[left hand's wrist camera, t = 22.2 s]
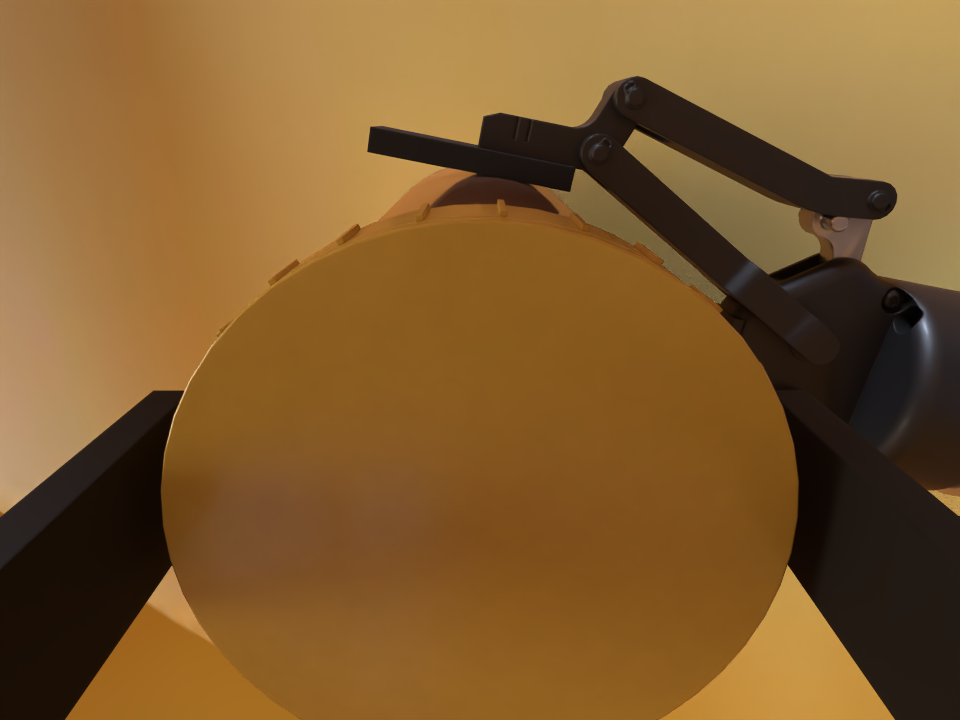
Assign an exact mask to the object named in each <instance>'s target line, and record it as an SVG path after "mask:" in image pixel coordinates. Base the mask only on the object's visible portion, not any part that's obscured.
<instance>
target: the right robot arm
mask: <svg viewBox="0 0 960 720" xmlns="http://www.w3.org/2000/svg"><path fill="white" fill-rule="evenodd" d="M634 129H635V130H637V131H639V132H641V133H643V134H645V135H647V136H649V137H651V138H653V139H655V140H657V141H659V142H661V143H663V144H665V145H666V146H668V147H670V148H672V149H674V150H676V151H678V152H680V153H682V154H684V155H686V156H688V157H690V158H692V159H694V160H696V161H698V162H700V163H702V164H703V165H705V166H707V167H709V168H711V169H713V170H715V171H717V172H719V173H721V174H723V175H725V176H727V177H729V178H731V179H733V180H735V181H737V182H739V183H740V184H742V185H744V186H746V187H748V188H750V189H752V190H754V191H756V192H758V193H760V194H762V195H764V196H766V197H768V198H770V199H772V200H775V201H777V202H780V203H783V204H787V205H790V206H794V207H797V208H801V209H800V211H799V223H800V226H801V228H802V229H803V230H804V231H806V232H808V233H811V234H813V235H815V236H816V237H817V238H818V240H819V241H820V245H821V250H820V253H818V254H815V255H812V256H810V257H808V258H805V259H803V260H801V261H798V262H796V263H794V264H792V265H789V266H787V267H785V268H782V269H780V270H778V271H775V272H773V273H771V274H766V273H765V272H764V271H763V270H762V269H760V268H759V267H758V266H756V265H755V264H754V263H752V262H751V261H750V260H748V259H747V258H746V257H745V256H744V255H743V254H742V253H740V252H739V251H738V250H737V249H736V248H735V247H734V246H733V245H732V244H730V243H729V242H728V241H727V240H726V239H725V238H724V237H723V236H722V235H720V234H719V233H718V232H717V231H716V230H715V229H714V228H713V227H711V226H710V225H709V224H708V223H707V222H706V221H705V220H704V219H703V218H701V217H700V216H699V215H698V214H697V213H696V212H695V211H694V210H693V209H691V208H690V207H689V206H688V205H687V204H686V203H685V202H684V201H682V200H681V199H680V198H679V197H678V196H677V195H676V194H675V193H674V192H672V191H671V190H670V189H669V188H668V187H667V186H666V185H665V184H664V183H662V182H661V181H660V180H659V179H658V178H657V177H656V176H655V175H653V174H652V173H651V172H650V171H649V170H648V169H647V168H646V167H645V166H643V165H642V164H641V163H640V162H639V161H638V160H637V159H636V158H635V157H633V156H632V155H631V154H630V153H629V152H628V151H627V150H626V149H624V148H623V146H624V144H625V143H626V141H627V140H628V138H629V137H630V135H631V133H632V132H633V130H634ZM367 152H370V153H375V154H380V155H386V156H391V157H396V158H401V159H406V160H411V161H416V162H421V163H426V164H431V165H436V166H441V167H446V168H451V169H456V170H462V171H467V172H472V173H477V174H482V175H487V176H492V177H497V178H502V179H507V180H512V181H517V182H522V183H527V184H532V185H537V186H543V187H548V188H553V189H558V190H563V191H568V192H570V190H571V185H572V181H573V177H574V172H575V168H576V169H581V170H583V171H585V172H586V173H587V174H588V175H589V176H590V177H591V178H593V179H594V180H595V181H596V182H597V183H598V184H600V185H601V186H602V187H603V188H604V189H605V190H606V191H608V192H609V193H610V194H611V195H612V196H613V197H614V198H616V199H617V200H618V201H619V202H620V203H621V204H623V205H624V206H625V207H626V208H627V209H628V210H629V211H631V212H632V213H633V214H634V215H635V216H636V217H637V218H639V219H640V220H641V221H642V222H643V223H644V224H645V225H647V226H648V227H649V228H650V229H651V230H652V231H654V232H655V233H656V234H657V235H658V236H659V237H660V238H662V239H663V240H664V241H665V242H666V243H667V244H668V245H670V246H671V247H672V248H673V249H674V250H675V251H677V252H678V253H679V254H680V255H681V256H682V257H683V258H685V259H686V260H687V261H688V262H689V263H690V264H691V265H693V266H694V267H695V268H696V269H697V270H698V271H699V272H700V273H701V274H702V275H703V276H704V277H706V278H707V279H708V280H709V281H710V282H711V283H712V284H714V285H715V286H716V287H717V288H718V289H719V290H720V291H722V292H723V293H724V294H725V295H726V296H727V297H726V298H725V299H724V300H723V301H722V303H721V304H717V303H716V304H717V305H719V306H720V307H721V308H722V309H723V311H722V312H720V314H721V315H722V316H723V317H724V318H725V319H726V320H727V321H728V323H729V324H730V325H731V326H732V327H733V328H734V329H735V330H736V331H737V332H738V333H739V334H740V335H741V336H742V337H743V339H744V340H745V342H746V343H747V345H748V346H749V348H750V349H751V351H752V352H753V353H754V355H755V356H756V358H757V359H758V361H759V362H760V363H762V365H763V367H764V369H765V371H766V373H767V375H768V377H769V379H770V381H771V383H772V385H773V387H774V389H775V391H808V392H809V393H810V394H811V395H812V396H814V397H815V398H816V399H817V400H818V401H820V402H821V403H822V404H823V405H824V406H826V407H827V408H828V409H829V410H831V411H832V412H833V413H834V414H835V415H837V416H838V417H839V418H840V419H841V420H843V421H844V422H845V423H846V424H847V425H849V426H850V427H851V428H852V429H854V430H855V431H856V432H857V433H858V434H860V435H861V436H862V437H863V438H864V439H866V440H867V441H868V442H869V443H870V444H872V445H873V446H874V447H875V448H877V449H878V450H879V451H880V452H881V453H883V454H884V455H885V456H886V457H887V458H889V459H890V460H891V461H892V462H893V463H895V464H896V465H897V466H898V467H900V468H901V469H902V470H903V471H904V472H906V473H907V474H908V475H909V476H910V477H912V478H913V479H914V480H915V481H916V482H918V483H919V484H920V485H921V486H923V487H924V488H925V489H926V490H937V491H939V492H941V493H943V494H948V495H954V496H960V292H958V291H953V290H948V289H943V288H938V287H933V286H927V285H922V284H917V283H912V282H907V281H902V280H897V279H891V278H886V277H881V276H877V275H876V274H874V273H873V272H872V271H871V270H870V269H869V268H868V267H867V266H866V265H865V264H864V263H862V262H861V257H862V254H863V251H864V247H865V244H866V240H867V237H868V233H869V230H870V227H871V223H872V220H875V219H881V218H883V217H885V216H887V215H888V214H889V213H890V212H891V211H892V210H893V208H894V206H895V204H896V201H897V193H896V190H895V188H894V187H893V186H892V185H891V184H889V183H886V182H882V181H875V180H869V179H862V178H855V177H849V176H841V175H830V174H826V173H824V172H822V171H820V170H818V169H816V168H814V167H812V166H810V165H809V164H807V163H805V162H803V161H801V160H799V159H797V158H795V157H793V156H792V155H790V154H788V153H786V152H784V151H782V150H780V149H778V148H776V147H775V146H773V145H771V144H769V143H767V142H765V141H763V140H761V139H759V138H757V137H756V136H754V135H752V134H750V133H748V132H746V131H744V130H742V129H740V128H739V127H737V126H735V125H733V124H731V123H729V122H727V121H725V120H723V119H722V118H720V117H718V116H716V115H714V114H712V113H710V112H708V111H706V110H704V109H703V108H701V107H699V106H697V105H695V104H693V103H691V102H689V101H687V100H686V99H684V98H682V97H680V96H678V95H676V94H674V93H672V92H670V91H669V90H667V89H665V88H663V87H661V86H659V85H657V84H655V83H653V82H651V81H650V80H648V79H646V78H643V77H639V76H636V77H630V78H626V79H623V80H620V81H616V82H614V83H612V84H611V85H609V86H608V87H607V89H606V90H605V91H604V94H603V97H602V100H601V101H600V103H599V104H598V106H597V108H596V109H595V111H594V113H593V114H592V116H591V117H590V118H589V120H588V121H586V122H585V123H584V124H582V125H580V126H577V127H568V126H563V125H558V124H553V123H548V122H543V121H538V120H533V119H528V118H524V117H519V116H514V115H509V114H504V113H497V114H492V115H487V116H483V122H482V127H481V133H480V139H479V144H478V145H474V144H469V143H464V142H459V141H454V140H449V139H444V138H439V137H434V136H429V135H424V134H419V133H414V132H409V131H404V130H399V129H394V128H389V127H384V126H377V127H370V135H369V143H368V151H367Z"/></svg>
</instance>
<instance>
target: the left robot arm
mask: <svg viewBox="0 0 960 720" xmlns="http://www.w3.org/2000/svg"><path fill="white" fill-rule="evenodd" d="M775 392H776V394H777V396H778V398H779V400H780V402H781V404H782V406H783V409H784V412H785V416H786V419H787V422H788V426H789V429H790V433H791V436H792V439H793V443H794V449H795V457H796V464H797V472H798V479H799V489H798V519H797V525H796V530H795V536H794V541H793V547H792V553H791V555H790V558H789V561H788V566H789V567H790V569H791V570H792V572H793V573H794V575H795V576H796V577H797V579H798V580H799V582H800V583H801V585H802V586H803V588H804V589H805V590H806V592H807V593H808V595H809V596H810V598H811V599H812V601H813V602H814V603H815V605H816V606H817V608H818V609H819V611H820V612H821V614H822V615H823V616H824V618H825V619H826V621H827V622H828V624H829V625H830V627H831V628H832V629H833V631H834V632H835V634H836V635H837V637H838V638H839V639H840V641H841V642H842V644H843V645H844V647H845V648H846V650H847V651H848V652H849V654H850V655H851V657H852V658H853V660H854V661H855V663H856V664H857V665H858V667H859V668H860V670H861V671H862V673H863V674H864V676H865V677H866V678H867V680H868V681H869V683H870V684H871V686H872V687H873V689H874V690H875V691H876V693H877V694H878V696H879V697H880V699H881V700H882V702H883V703H884V704H885V706H886V707H887V709H888V710H889V712H890V713H891V715H892V716H893V717H894V719H895V720H960V516H958V515H956V514H955V513H954V512H953V511H952V510H950V509H949V508H948V507H947V506H946V505H944V504H943V503H942V502H941V501H939V500H938V499H937V498H936V497H935V496H933V495H932V494H931V493H930V492H929V491H927V490H926V489H925V488H924V487H923V486H921V485H920V484H919V483H918V482H916V481H915V480H914V479H913V478H912V477H910V476H909V475H908V474H907V473H906V472H904V471H903V470H902V469H901V468H900V467H898V466H897V465H896V464H895V463H893V462H892V461H891V460H890V459H889V458H887V457H886V456H885V455H884V454H883V453H881V452H880V451H879V450H878V449H877V448H875V447H874V446H873V445H872V444H870V443H869V442H868V441H867V440H866V439H864V438H863V437H862V436H861V435H860V434H858V433H857V432H856V431H855V430H854V429H852V428H851V427H850V426H849V425H847V424H846V423H845V422H844V421H843V420H841V419H840V418H839V417H838V416H837V415H835V414H834V413H833V412H832V411H831V410H829V409H828V408H827V407H826V406H824V405H823V404H822V403H821V402H820V401H818V400H817V399H816V398H815V397H814V396H812V395H811V394H810V393H809V392H808V391H775ZM183 393H184V391H152V392H151V393H150V394H149V395H148V396H146V397H145V398H144V399H143V400H142V401H140V402H139V403H138V404H137V405H136V406H134V407H133V408H132V409H131V410H129V411H128V412H127V413H126V414H125V415H123V416H122V417H121V418H120V419H119V420H117V421H116V422H115V423H114V424H113V425H111V426H110V427H109V428H108V429H106V430H105V431H104V432H103V433H102V434H100V435H99V436H98V437H97V438H96V439H94V440H93V441H92V442H91V443H90V444H88V445H87V446H86V447H85V448H83V449H82V450H81V451H80V452H79V453H77V454H76V455H75V456H74V457H73V458H71V459H70V460H69V461H68V462H67V463H65V464H64V465H63V466H62V467H60V468H59V469H58V470H57V471H56V472H54V473H53V474H52V475H51V476H50V477H48V478H47V479H46V480H45V481H44V482H42V483H41V484H40V485H39V486H38V487H36V488H35V489H34V490H33V491H31V492H30V493H29V494H28V495H27V496H25V497H24V498H23V499H22V500H21V501H19V502H18V503H17V504H16V505H15V506H13V507H12V508H11V509H10V510H8V511H7V512H6V513H5V514H4V515H2V516H1V517H0V720H65V719H66V717H67V716H68V714H69V713H70V712H71V710H72V709H73V707H74V706H75V704H76V703H77V702H78V700H79V699H80V697H81V696H82V694H83V693H84V691H85V690H86V688H87V687H88V686H89V684H90V683H91V681H92V680H93V678H94V677H95V676H96V674H97V673H98V671H99V670H100V668H101V667H102V665H103V664H104V663H105V661H106V660H107V658H108V657H109V655H110V654H111V652H112V651H113V650H114V648H115V647H116V645H117V644H118V642H119V641H120V639H121V638H122V637H123V635H124V634H125V632H126V631H127V629H128V628H129V627H130V625H131V624H132V622H133V621H134V619H135V618H136V616H137V615H138V614H139V612H140V611H141V609H142V608H143V606H144V605H145V603H146V602H147V601H148V599H149V598H150V596H151V595H152V593H153V592H154V590H155V589H156V588H157V586H158V585H159V583H160V582H161V580H162V579H163V577H164V576H165V575H166V573H167V572H168V570H169V569H170V567H171V566H172V563H171V560H170V556H169V551H168V547H167V542H166V537H165V533H164V528H163V518H162V502H161V482H162V472H163V461H164V452H165V448H166V444H167V440H168V436H169V432H170V428H171V424H172V420H173V417H174V414H175V412H176V409H177V407H178V405H179V402H180V400H181V398H182V395H183Z"/></svg>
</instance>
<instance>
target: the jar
mask: <svg viewBox="0 0 960 720" xmlns="http://www.w3.org/2000/svg"><path fill="white" fill-rule="evenodd" d="M498 199H500V200H504V202H505V205H507V206H516V207H524V208H533V209H539V210H543V211H547V212H550V213H554V214H558V215H562V216H566V217H570V214H571V213H574V212H573V211H572V210H571V209H570V208H569V207H568V206H567V205H566V204H565V203H564V202H563V201H562V200H561V199H560V198H559V197H557V196H556V195H555V194H554V193H553V192H552V191H551V190H550V189H549V188H548V187H543V186H537V185H532V184H527V183H522V182H517V181H512V180H507V179H502V178H497V177H492V176H487V175H482V174H477V173H472V172H467V171H462V170H456V169H451V168H446V169H443V170H441V171H438V172H435V173H434V174H432V175H430V176H428V177H426V178H424V179H423V180H421V181H420V182H419V183H417V184H416V185H415V186H413V187H412V188H411V189H410V190H409V191H408V192H407V193H406V194H405V195H404V196H403V197H402V198H401V199H400V200H399V201H398V202H397V203H396V204H395V205H394V206H393V207H391V208H390V209H389V210H388V211H387V212H386V213H385V214H384V215H383V216H382V217H381V218H380V219H379V220H378V221H381V220H384V219H388V218H391V217H394V216H398V215H401V214H405V213H408V212H412V211H416V210H419V209H420V207H421V206H422V204H426V203H429V205H430V208H436V207H443V206H450V205H473V204H497V200H498Z"/></svg>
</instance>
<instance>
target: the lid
mask: <svg viewBox="0 0 960 720" xmlns="http://www.w3.org/2000/svg"><path fill="white" fill-rule="evenodd" d="M663 262H664V261H663V260H662V259H660V258H659V257H658V256H656V255H655V254H654V253H652V252H651V251H650V250H648V249H647V248H646V247H645V246H643V245H642V244H640V243H639V242H637V243H636V244H635V246H633V245H631V244H629V243H627V242H626V241H624V240H622V239H621V238H619V237H617V236H615V235H614V234H611V233H609V232H606V231H604V230H602V229H599V228H597V227H594V226H592V225H589V224H587V223H585V222H584V221H583V220H582V219H581V218H580V217H579V216H578V215H577V214H575V213H571V214H570V217H566V216H562V215H558V214H554V213H550V212H547V211H543V210H539V209H533V208H524V207H516V206H507V205H505V202H504V200H500V199H498V200H497V204H473V205H450V206H443V207H436V208H430V205H429V203H426V204H422V206H421V207H420V209H419V210H416V211H412V212H408V213H405V214H401V215H398V216H394V217H391V218H388V219H384V220H381V221H377V222H374V223H372V224H370V225H367V226H365V227H363V228H361V229H360V227H359V225H358V224H356V225H354V226H352V227H351V228H350V229H348V230H347V231H346V232H345V233H343V234H342V235H341V236H340V237H339V238H337V239H336V240H335V241H333V242H332V243H330V244H329V245H327V246H325V247H324V248H322V249H321V250H319V251H317V252H316V253H314V254H313V255H311V256H310V257H308V258H306V259H305V260H303V261H302V262H301V263H299V262H298V260H295V261H294V262H292V263H291V264H290V265H288V266H287V267H286V268H284V269H283V270H282V271H280V272H279V273H278V274H276V275H275V276H274V277H272V278H271V279H270V280H269V281H268V283H269V284H270V285H271V287H270V288H268V289H267V290H266V291H265V292H264V293H262V294H261V295H260V296H259V297H258V298H257V299H255V300H254V301H253V302H252V303H251V304H250V305H248V306H247V307H246V308H245V309H244V310H242V311H241V312H240V313H239V314H238V315H237V316H236V317H235V318H234V319H233V320H232V321H231V322H229V323H228V324H227V325H226V326H224V327H223V328H222V329H221V330H219V332H218V333H217V334H216V336H217V337H218V338H217V339H216V340H215V341H214V343H213V344H212V345H211V346H210V348H209V349H208V351H207V353H206V354H205V356H204V357H203V359H202V360H201V362H200V364H199V365H198V367H197V368H196V370H195V372H194V373H193V375H192V376H191V378H190V379H189V382H188V384H187V386H186V388H185V391H184V393H183V395H182V398H181V400H180V402H179V405H178V407H177V409H176V412H175V414H174V417H173V420H172V424H171V428H170V432H169V436H168V440H167V444H166V448H165V452H164V461H163V472H162V482H161V502H162V518H163V528H164V533H165V537H166V542H167V547H168V551H169V556H170V560H171V563H172V566H173V568H174V571H175V574H176V576H177V579H178V582H179V584H180V587H181V590H182V592H183V595H184V596H185V598H186V600H187V602H188V604H189V606H190V607H191V609H192V611H193V613H194V615H195V617H196V618H197V620H198V622H199V624H200V625H201V627H202V628H203V629H204V631H205V632H206V634H207V635H208V636H209V638H210V639H211V640H212V642H213V643H214V644H215V646H216V647H217V649H218V650H219V651H220V653H221V654H222V655H223V656H224V657H225V658H226V659H227V660H228V661H229V662H230V663H231V664H232V665H233V666H234V667H235V668H236V670H237V671H238V672H239V673H240V674H241V675H242V676H243V677H244V678H245V679H247V680H248V681H249V682H250V683H251V684H253V685H254V686H255V687H256V688H257V689H259V690H260V691H261V692H262V693H263V694H264V695H266V696H267V697H268V698H269V699H270V700H272V701H273V702H275V703H276V704H278V705H279V706H281V707H283V708H284V709H286V710H287V711H289V712H290V713H292V714H293V715H295V716H296V717H298V718H299V719H301V720H658V719H660V718H662V717H664V716H666V715H667V714H669V713H670V712H672V711H673V710H675V709H676V708H677V707H679V706H680V705H682V704H683V703H685V702H686V701H687V700H689V699H690V698H692V697H693V696H695V695H696V694H697V693H698V692H699V691H700V690H702V689H703V688H704V687H705V686H706V685H707V684H708V683H710V682H711V681H712V680H713V679H714V678H715V677H716V676H717V675H719V674H720V673H721V672H722V671H723V670H724V669H725V668H726V666H727V665H728V664H729V663H730V662H731V661H732V660H733V659H734V657H735V656H736V655H737V654H738V653H739V652H740V651H741V649H742V648H743V647H744V646H745V645H746V643H747V642H748V640H749V639H750V638H751V636H752V635H753V633H754V632H755V630H756V629H757V627H758V626H759V624H760V623H761V621H762V620H763V619H764V617H765V615H766V613H767V611H768V609H769V607H770V605H771V603H772V601H773V599H774V597H775V595H776V593H777V591H778V589H779V587H780V585H781V582H782V579H783V576H784V573H785V570H786V567H787V564H788V561H789V558H790V555H791V553H792V547H793V541H794V536H795V530H796V525H797V519H798V489H799V479H798V472H797V464H796V457H795V449H794V443H793V439H792V436H791V433H790V429H789V426H788V422H787V419H786V416H785V412H784V409H783V406H782V404H781V402H780V400H779V398H778V396H777V394H776V392H775V389H774V387H773V385H772V383H771V381H770V379H769V377H768V375H767V373H766V371H765V369H764V367H763V365H762V363H760V362H759V361H758V359H757V358H756V356H755V355H754V353H753V352H752V351H751V349H750V348H749V346H748V345H747V343H746V342H745V340H744V339H743V337H742V336H741V335H740V334H739V333H738V332H737V331H736V330H735V329H734V328H733V327H732V326H731V325H730V324H729V323H728V321H727V320H726V319H725V318H724V317H723V316H722V315H721V314H720V312H722V311H723V309H722V308H721V307H720V306H719V305H717V304H716V303H715V302H714V301H712V300H711V299H710V298H708V297H707V296H706V295H704V294H703V293H702V292H701V291H699V290H698V289H697V288H695V287H694V286H693V285H691V286H689V287H688V286H687V285H686V284H685V283H683V282H682V281H681V280H680V279H678V278H677V277H676V276H674V275H673V274H672V273H671V272H669V271H668V270H667V269H666V268H664V267H663V266H662V263H663Z"/></svg>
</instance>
